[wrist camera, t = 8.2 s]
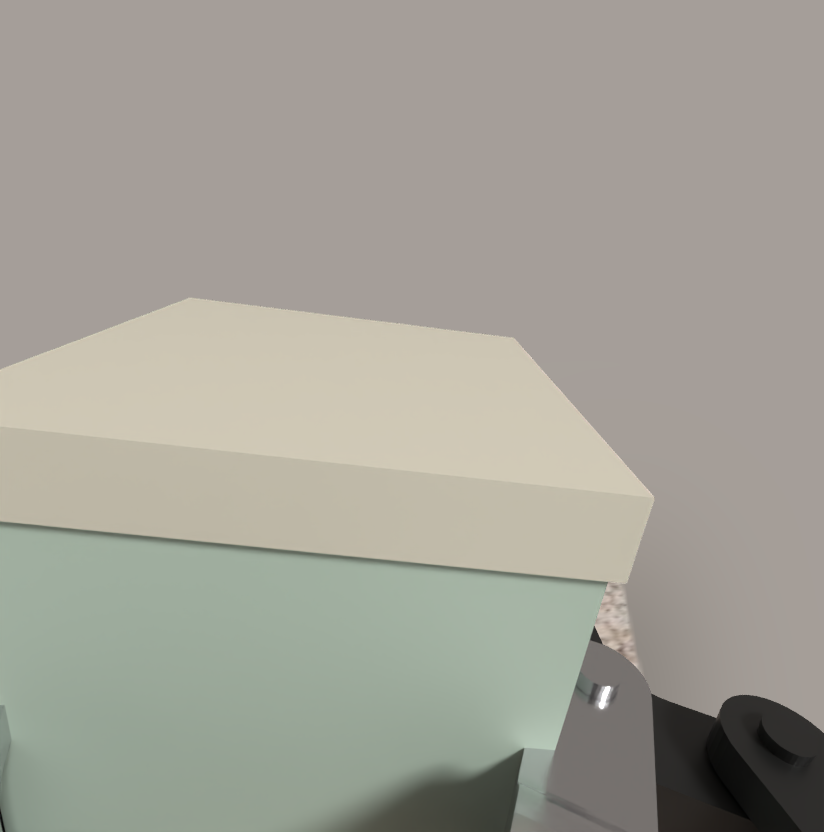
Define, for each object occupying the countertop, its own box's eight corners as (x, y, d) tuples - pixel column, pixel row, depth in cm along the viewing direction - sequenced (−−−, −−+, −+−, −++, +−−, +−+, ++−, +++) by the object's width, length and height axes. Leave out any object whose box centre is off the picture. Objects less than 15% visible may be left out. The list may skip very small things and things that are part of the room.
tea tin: (50, 1094, 7) (-119, 414, 4) (199, 726, 12) (189, 297, 9) (451, 1112, 8) (655, 497, 4) (433, 745, 13) (514, 337, 9)
